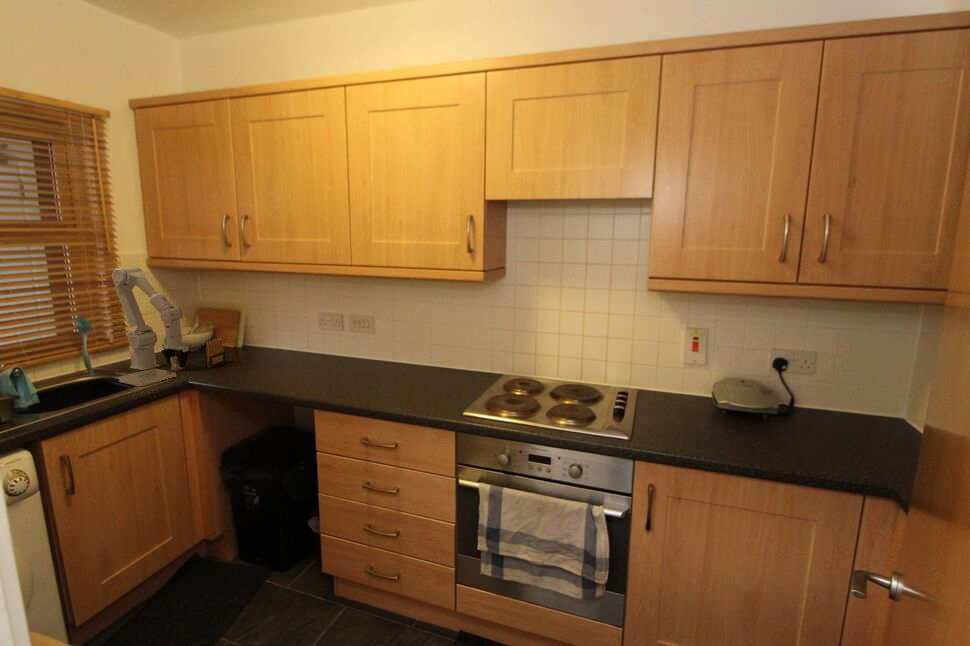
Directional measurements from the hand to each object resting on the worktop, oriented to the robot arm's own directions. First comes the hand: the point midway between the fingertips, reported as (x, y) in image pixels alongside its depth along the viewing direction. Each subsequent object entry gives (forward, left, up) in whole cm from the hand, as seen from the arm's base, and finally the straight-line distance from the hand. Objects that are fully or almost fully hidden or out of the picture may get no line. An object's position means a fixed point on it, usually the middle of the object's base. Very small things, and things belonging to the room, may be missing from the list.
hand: (177, 365), depth 217 cm
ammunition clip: (+9, +12, -2) cm, 15 cm away
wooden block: (0, 0, -2) cm, 2 cm away
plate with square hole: (+4, -15, -1) cm, 16 cm away
